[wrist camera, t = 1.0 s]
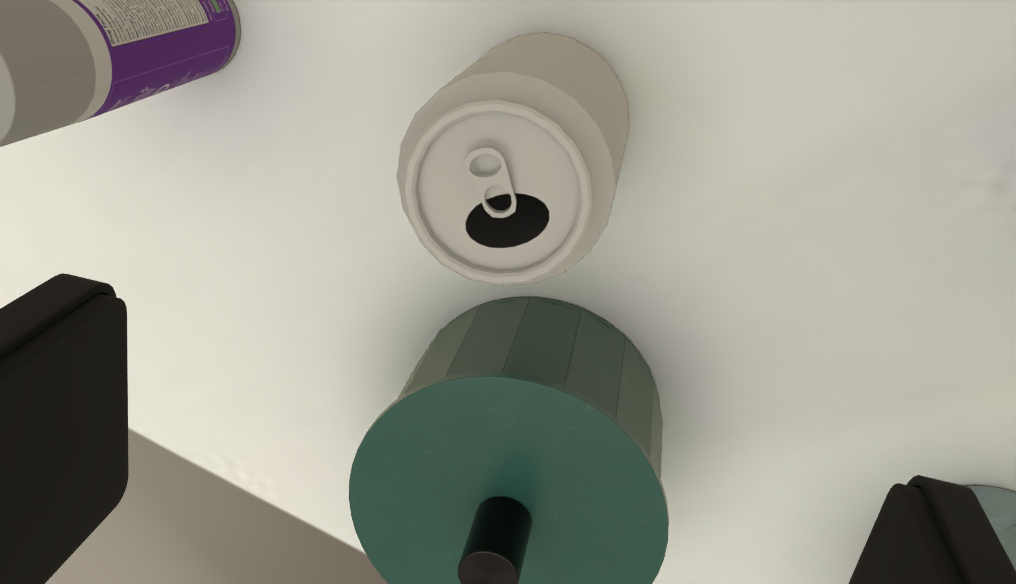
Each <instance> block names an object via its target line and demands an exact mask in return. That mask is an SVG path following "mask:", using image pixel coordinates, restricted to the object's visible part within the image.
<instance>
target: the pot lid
mask: <svg viewBox="0 0 1016 584" xmlns="http://www.w3.org/2000/svg"><path fill="white" fill-rule="evenodd" d="M349 502H350V509H351V516H352V520H353V523H354V527H355V530H356V533H357V536H358V538H359V540H360V543H361V545H362V547H363V549H364V551H365V552H366V554H367V556H368V557H369V559H370V561H371V562H372V564H373V565H374V567H375V568H376V569H377V571H378V572H379V573H380V574H381V576H382V577H383V578H384V579H385V580H386V581H387V582H388V584H652V583H653V581H654V580H655V578H656V576H657V575H658V572H659V570H660V567H661V565H662V562H663V560H664V557H665V552H666V547H667V542H668V525H669V516H668V508H667V499H666V496H665V492H664V488H663V485H662V481H661V479H660V477H659V475H658V472H657V470H656V468H655V466H654V463H653V462H652V460H651V459H650V457H649V455H648V454H647V452H646V451H645V449H644V448H643V446H642V445H641V444H640V442H639V441H638V440H637V439H636V438H635V436H634V435H633V434H632V433H631V432H630V430H629V429H628V428H626V427H625V426H624V425H623V424H622V423H621V422H620V421H619V420H618V419H617V418H616V417H615V416H614V415H612V414H611V413H610V412H608V411H607V410H605V409H604V408H603V407H601V406H600V405H599V404H597V403H596V402H594V401H592V400H591V399H589V398H587V397H585V396H583V395H582V394H580V393H578V392H576V391H574V390H572V389H569V388H567V387H564V386H562V385H560V384H557V383H555V382H552V381H548V380H545V379H541V378H538V377H534V376H529V375H524V374H518V373H512V372H495V371H483V372H468V373H462V374H457V375H452V376H446V377H443V378H440V379H437V380H434V381H431V382H428V383H426V384H424V385H422V386H420V387H417V388H415V389H413V390H411V391H409V392H408V393H406V394H405V395H403V396H402V397H400V398H399V399H397V400H396V401H395V402H393V403H392V404H391V405H390V406H389V407H388V408H387V409H386V410H385V411H383V412H382V413H381V414H380V415H379V417H378V418H377V419H376V421H375V422H374V423H373V424H372V426H371V427H370V428H369V430H368V432H367V433H366V435H365V437H364V439H363V440H362V442H361V444H360V446H359V448H358V450H357V453H356V456H355V458H354V461H353V464H352V469H351V475H350V480H349Z"/></svg>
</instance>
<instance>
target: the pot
mask: <svg viewBox="0 0 1016 584" xmlns="http://www.w3.org/2000/svg"><path fill="white" fill-rule="evenodd" d="M483 371H495V372H512V373H518V374H524V375H529V376H534V377H538V378H541V379H545V380H548V381H552V382H555V383H557V384H560V385H562V386H564V387H567V388H569V389H572V390H574V391H576V392H578V393H580V394H582V395H583V396H585V397H587V398H589V399H591V400H592V401H594V402H596V403H597V404H599V405H600V406H601V407H603V408H604V409H605V410H607V411H608V412H610V413H611V414H612V415H614V416H615V417H616V418H617V419H618V420H619V421H620V422H621V423H622V424H623V425H624V426H625V427H626V428H628V429H629V430H630V432H631V433H632V434H633V435H634V436H635V438H636V439H637V440H638V441H639V442H640V444H641V445H642V446H643V448H644V449H645V451H646V452H647V454H648V455H649V457H650V459H651V460H652V462H653V463H654V466H655V468H656V470H657V472H658V475H659V477H660V479H661V448H662V418H661V412H660V404H659V396H658V392H657V388H656V385H655V381H654V379H653V376H652V374H651V372H650V369H649V367H648V365H647V364H646V362H645V361H644V359H643V357H642V356H641V354H640V353H639V351H638V350H637V349H636V348H635V347H634V345H633V344H632V343H631V342H630V341H629V340H628V339H627V338H626V337H625V336H624V335H623V334H622V333H621V332H620V331H619V330H618V329H616V328H615V327H614V326H612V325H611V324H610V323H608V322H607V321H606V320H604V319H602V318H601V317H599V316H597V315H595V314H594V313H592V312H590V311H588V310H585V309H583V308H581V307H578V306H576V305H573V304H570V303H566V302H563V301H559V300H554V299H548V298H542V297H514V298H505V299H500V300H496V301H491V302H488V303H485V304H482V305H480V306H477V307H475V308H473V309H471V310H469V311H467V312H465V313H463V314H461V315H460V316H459V317H457V318H456V319H454V320H453V321H451V322H450V323H449V324H448V325H447V326H446V327H445V328H443V329H441V330H440V331H439V333H438V334H437V336H436V337H435V339H434V340H433V341H432V343H431V344H430V346H429V348H428V349H427V351H426V352H425V354H424V355H423V357H422V358H421V360H420V361H419V363H418V364H417V366H416V368H415V369H414V371H413V373H412V375H411V376H410V378H409V380H408V382H407V383H406V385H405V387H404V389H403V390H402V392H401V394H400V396H399V398H400V397H402V396H403V395H405V394H406V393H408V392H409V391H411V390H413V389H415V388H417V387H420V386H422V385H424V384H426V383H428V382H431V381H434V380H437V379H440V378H443V377H446V376H452V375H457V374H462V373H468V372H483ZM399 398H398V399H399Z"/></svg>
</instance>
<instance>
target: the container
mask: <svg viewBox="0 0 1016 584" xmlns="http://www.w3.org/2000/svg"><path fill="white" fill-rule="evenodd" d="M239 41H240V21H239V16H238V13H237V10H236V7H235V5H234V3H233V1H232V0H0V147H1V146H5V145H8V144H11V143H14V142H17V141H20V140H23V139H27V138H30V137H33V136H36V135H39V134H42V133H46V132H49V131H52V130H55V129H58V128H61V127H65V126H68V125H71V124H74V123H77V122H81V121H84V120H87V119H89V118H92V117H95V116H98V115H100V114H103V113H106V112H108V111H111V110H114V109H117V108H119V107H122V106H125V105H128V104H130V103H133V102H136V101H139V100H141V99H144V98H147V97H149V96H152V95H155V94H158V93H160V92H163V91H166V90H169V89H171V88H174V87H177V86H180V85H182V84H185V83H188V82H190V81H193V80H196V79H199V78H201V77H204V76H207V75H210V74H212V73H214V72H217V71H219V70H221V69H222V68H224V67H225V66H226V65H227V64H228V63H229V62H230V61H231V60H232V58H233V57H234V55H235V53H236V51H237V48H238V45H239Z"/></svg>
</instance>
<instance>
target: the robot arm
mask: <svg viewBox="0 0 1016 584" xmlns="http://www.w3.org/2000/svg"><path fill="white" fill-rule="evenodd" d="M127 481H128V382H127V310H126V305H125V303H124V301H123V300H122V299H120V298H116V294H115V291H114V289H113V287H112V286H110V285H109V284H107V283H103V282H99V281H95V280H90V279H86V278H82V277H78V276H73V275H69V274H63V273H62V274H59V275H57V276H54V277H53V278H51V279H49V280H48V281H46V282H44V283H43V284H41V285H39V286H38V287H36V288H34V289H33V290H31V291H29V292H28V293H26V294H24V295H23V296H21V297H19V298H18V299H16V300H14V301H12V302H11V303H9V304H7V305H6V306H4V307H2V308H1V309H0V584H45V583H46V582H47V581H48V580H49V578H50V577H51V576H52V575H53V574H54V573H55V572H56V571H57V570H58V569H59V568H60V567H61V565H62V564H63V563H64V562H65V561H66V560H67V559H68V558H69V557H70V556H71V555H72V554H73V553H74V551H75V550H76V549H77V548H78V547H79V546H80V545H81V544H82V543H83V542H84V541H85V540H86V538H87V537H88V536H89V535H90V534H91V533H92V532H93V531H94V530H95V529H96V528H97V527H98V526H99V524H100V523H101V522H102V521H103V520H104V519H105V518H106V517H107V516H108V515H109V514H110V513H111V511H112V510H113V509H114V508H115V507H116V506H117V505H118V503H119V502H120V500H121V498H122V497H123V494H124V492H125V489H126V486H127ZM849 584H1016V571H1015V569H1014V567H1013V565H1012V563H1011V561H1010V559H1009V557H1008V555H1007V554H1006V552H1005V550H1004V548H1003V546H1002V544H1001V542H1000V540H999V538H998V536H997V535H996V533H995V531H994V529H993V527H992V525H991V523H990V521H989V519H988V517H987V515H986V514H985V512H984V510H983V508H982V506H981V504H980V502H979V500H978V498H977V496H976V495H975V493H974V492H973V491H972V489H971V488H969V487H966V486H962V485H958V484H953V483H949V482H945V481H941V480H936V479H932V478H928V477H924V476H920V475H917V476H915V477H913V478H912V479H911V480H910V481H909V482H908V484H907V485H903V484H899V483H897V484H894V485H893V486H892V488H891V489H890V491H889V492H888V494H887V497H886V499H885V501H884V503H883V506H882V508H881V510H880V513H879V515H878V517H877V520H876V522H875V524H874V526H873V529H872V531H871V533H870V536H869V538H868V540H867V543H866V545H865V547H864V549H863V552H862V554H861V556H860V559H859V561H858V563H857V566H856V568H855V570H854V572H853V575H852V577H851V579H850V582H849Z"/></svg>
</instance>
